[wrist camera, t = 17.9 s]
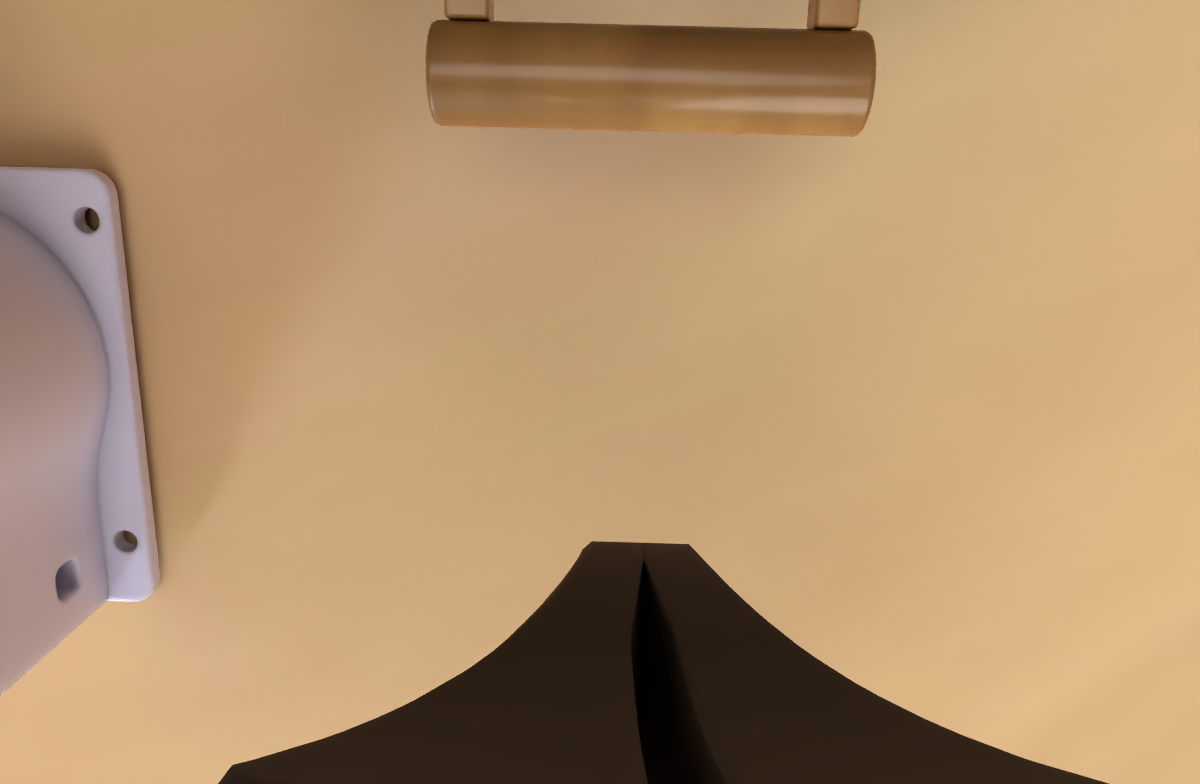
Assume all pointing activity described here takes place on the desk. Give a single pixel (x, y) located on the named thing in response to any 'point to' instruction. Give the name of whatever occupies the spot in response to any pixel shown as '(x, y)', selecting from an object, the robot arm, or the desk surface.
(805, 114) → the drawer
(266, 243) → the desk surface
